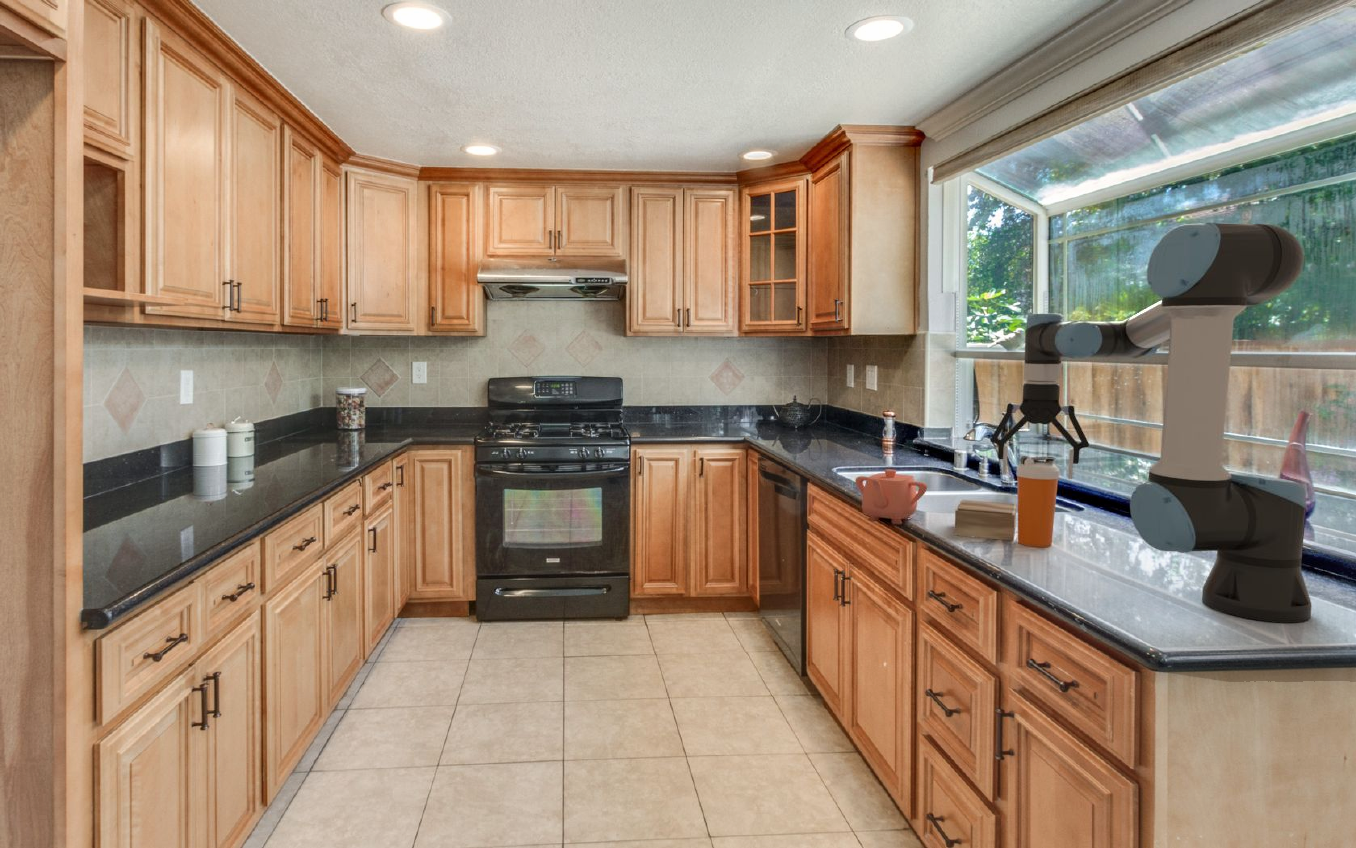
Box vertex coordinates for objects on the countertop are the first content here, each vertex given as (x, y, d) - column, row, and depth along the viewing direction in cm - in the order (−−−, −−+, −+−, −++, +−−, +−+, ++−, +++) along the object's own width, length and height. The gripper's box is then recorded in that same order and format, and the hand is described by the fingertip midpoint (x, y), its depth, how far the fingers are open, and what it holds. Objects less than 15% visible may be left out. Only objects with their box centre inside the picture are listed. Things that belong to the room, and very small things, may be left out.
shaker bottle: (1063, 548, 175) (1067, 460, 173) (1023, 548, 175) (1027, 460, 173) (1045, 538, 184) (1049, 454, 182) (1007, 538, 184) (1010, 454, 182)
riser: (1013, 540, 182) (1014, 513, 181) (954, 535, 187) (955, 509, 187) (1015, 529, 194) (1016, 503, 193) (959, 524, 199) (960, 499, 198)
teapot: (902, 512, 214) (903, 464, 213) (932, 524, 199) (933, 473, 197) (845, 515, 211) (846, 466, 209) (871, 528, 195) (872, 476, 194)
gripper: (1103, 383, 174) (1097, 477, 176) (983, 380, 184) (979, 469, 187) (1105, 385, 167) (1099, 482, 170) (981, 382, 178) (977, 474, 180)
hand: (1036, 475), depth 178 cm, fingers open, 13 cm apart
